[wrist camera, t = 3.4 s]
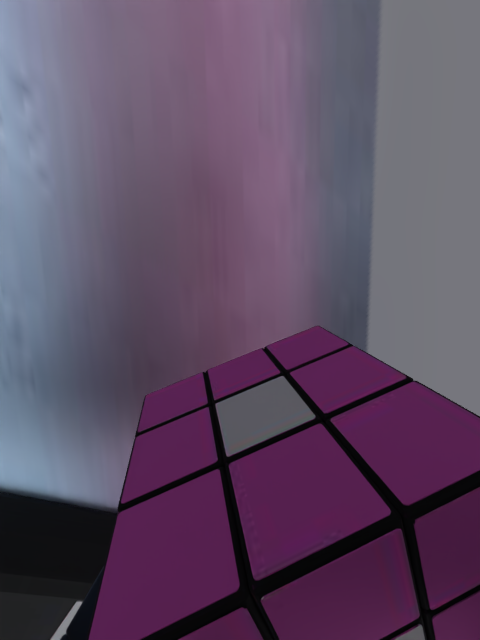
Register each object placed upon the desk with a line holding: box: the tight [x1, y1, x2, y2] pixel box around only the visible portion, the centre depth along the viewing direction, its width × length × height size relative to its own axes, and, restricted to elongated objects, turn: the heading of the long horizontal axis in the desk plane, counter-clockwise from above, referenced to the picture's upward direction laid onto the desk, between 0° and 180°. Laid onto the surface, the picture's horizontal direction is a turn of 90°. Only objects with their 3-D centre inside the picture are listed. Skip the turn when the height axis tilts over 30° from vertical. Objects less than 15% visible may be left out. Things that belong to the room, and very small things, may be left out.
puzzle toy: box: [86, 326, 480, 640], centre depth 7 cm, size 6×6×6 cm
